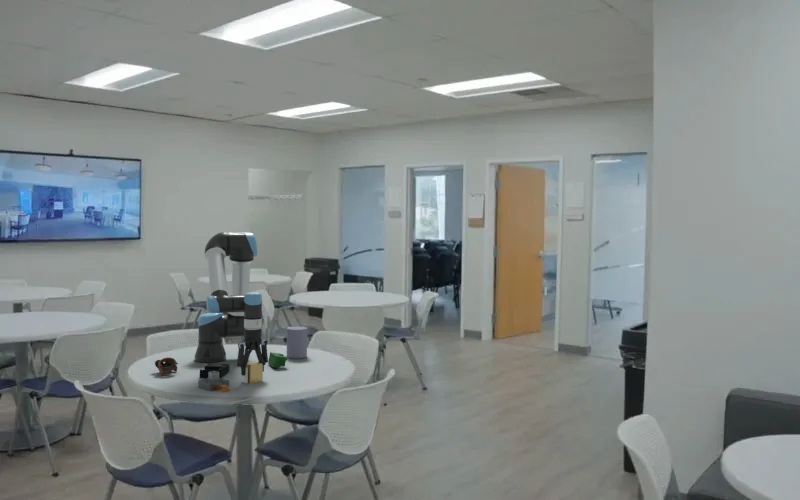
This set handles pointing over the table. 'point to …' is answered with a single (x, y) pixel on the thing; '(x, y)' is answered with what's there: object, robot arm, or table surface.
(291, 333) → the container
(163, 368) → the pottery mug
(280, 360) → the clamp
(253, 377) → the tan rectangular block
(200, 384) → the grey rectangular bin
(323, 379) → the table surface
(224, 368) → the battery charger
